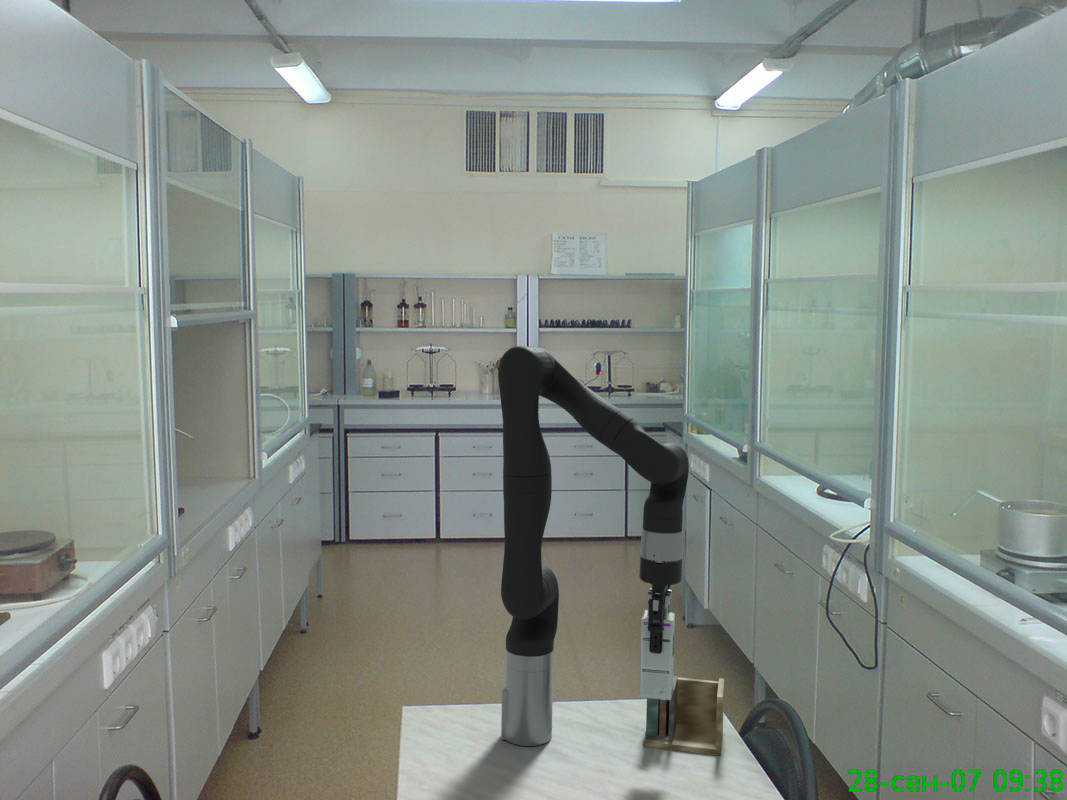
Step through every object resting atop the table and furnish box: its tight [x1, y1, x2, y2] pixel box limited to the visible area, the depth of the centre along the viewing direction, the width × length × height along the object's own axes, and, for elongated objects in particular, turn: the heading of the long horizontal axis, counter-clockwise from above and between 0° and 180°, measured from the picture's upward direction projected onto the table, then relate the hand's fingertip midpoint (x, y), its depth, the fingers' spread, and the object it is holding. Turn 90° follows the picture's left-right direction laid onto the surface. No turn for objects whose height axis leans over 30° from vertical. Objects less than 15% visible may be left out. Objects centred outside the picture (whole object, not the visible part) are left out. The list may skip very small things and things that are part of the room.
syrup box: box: [639, 609, 676, 700], centre depth 164 cm, size 6×6×14 cm
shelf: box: [642, 675, 725, 756], centre depth 176 cm, size 14×11×12 cm
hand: (657, 646), depth 164 cm, fingers closed on syrup box, 5 cm apart
